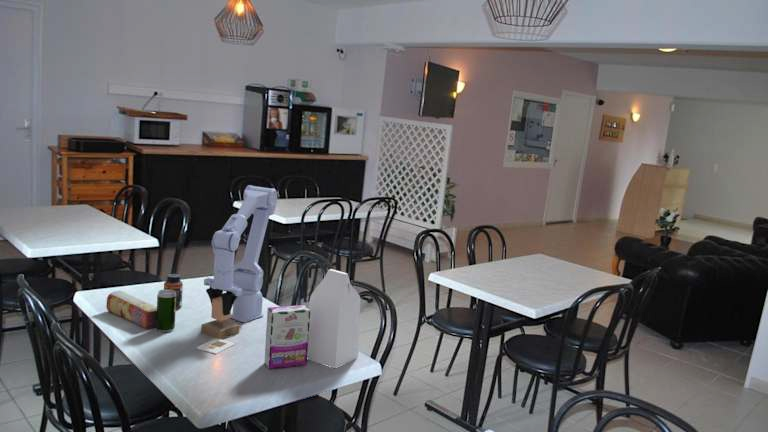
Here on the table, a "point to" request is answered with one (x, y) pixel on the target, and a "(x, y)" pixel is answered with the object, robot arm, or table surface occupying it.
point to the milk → (334, 321)
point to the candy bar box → (287, 336)
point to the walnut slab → (220, 329)
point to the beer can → (166, 310)
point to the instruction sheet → (216, 346)
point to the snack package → (132, 309)
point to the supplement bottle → (175, 287)
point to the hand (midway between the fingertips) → (221, 312)
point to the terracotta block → (218, 309)
